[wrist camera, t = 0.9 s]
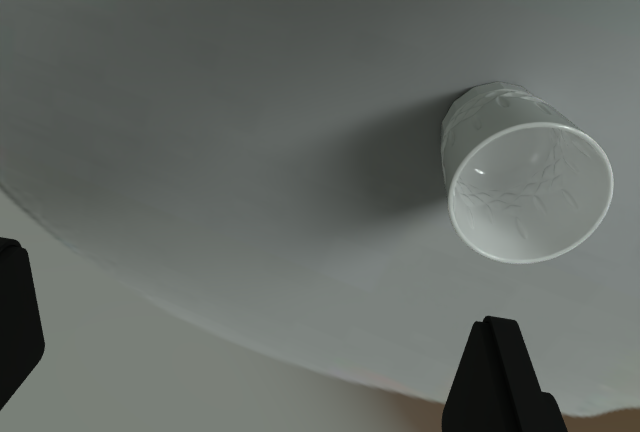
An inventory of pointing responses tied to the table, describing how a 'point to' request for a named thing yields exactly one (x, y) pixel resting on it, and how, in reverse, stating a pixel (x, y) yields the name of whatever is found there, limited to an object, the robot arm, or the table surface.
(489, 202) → the white cup
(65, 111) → the table surface
